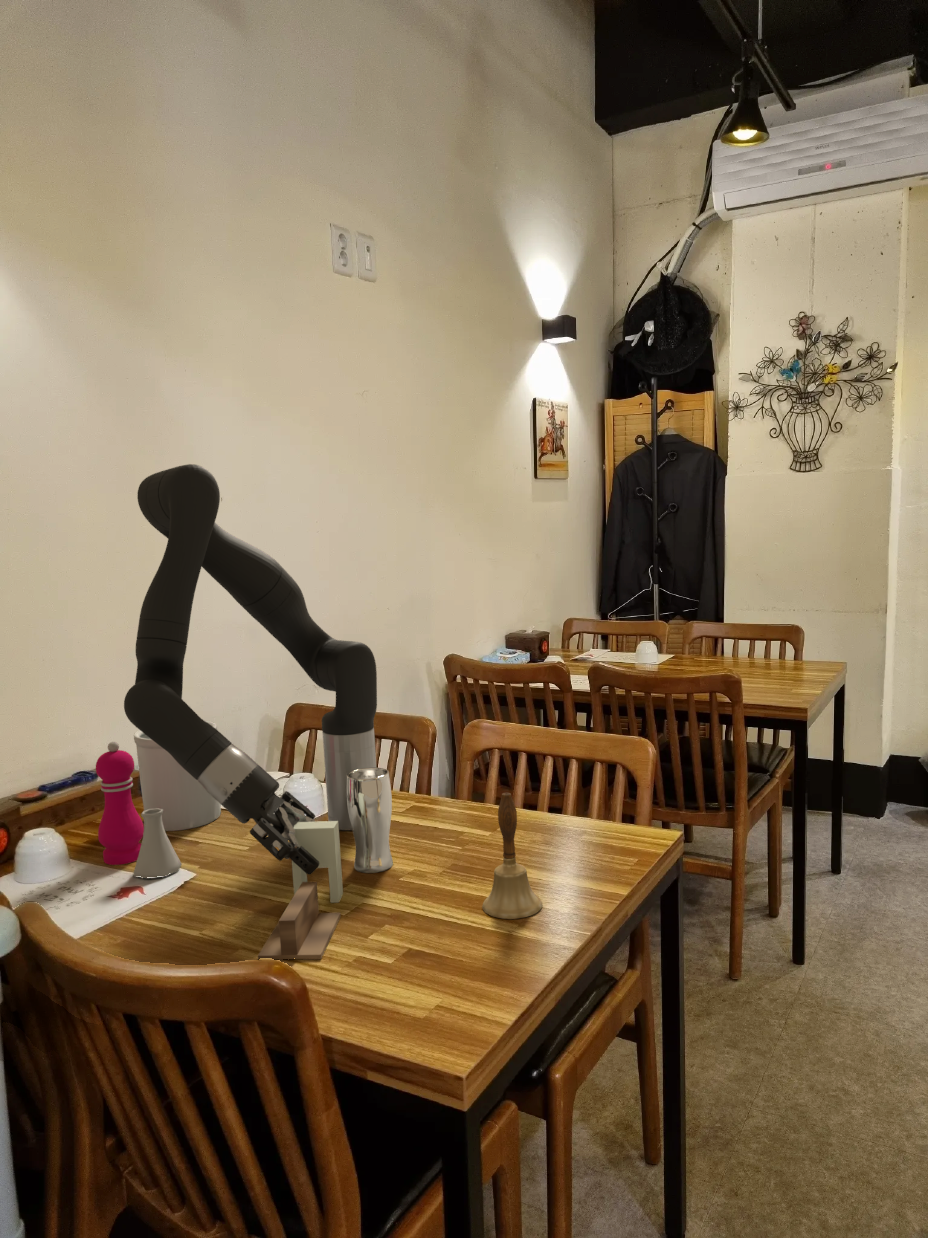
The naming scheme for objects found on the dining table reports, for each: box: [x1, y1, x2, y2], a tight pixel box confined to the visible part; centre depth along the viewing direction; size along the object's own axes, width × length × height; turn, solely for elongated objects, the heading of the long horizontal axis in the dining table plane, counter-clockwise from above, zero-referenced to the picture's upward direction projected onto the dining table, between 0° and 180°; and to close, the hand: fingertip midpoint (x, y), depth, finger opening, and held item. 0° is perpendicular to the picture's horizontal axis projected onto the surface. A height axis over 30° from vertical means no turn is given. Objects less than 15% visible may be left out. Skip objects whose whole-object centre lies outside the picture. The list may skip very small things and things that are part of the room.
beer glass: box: [347, 767, 394, 874], centre depth 140 cm, size 7×7×15 cm
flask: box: [132, 808, 182, 879], centre depth 143 cm, size 7×7×10 cm
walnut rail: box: [257, 881, 342, 961], centre depth 117 cm, size 12×8×5 cm, turn 176°
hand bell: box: [481, 792, 543, 920], centre depth 123 cm, size 8×8×16 cm
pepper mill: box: [95, 741, 144, 866], centre depth 149 cm, size 7×7×20 cm
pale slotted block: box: [291, 820, 344, 904], centre depth 129 cm, size 6×3×11 cm, turn 86°
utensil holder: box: [133, 719, 222, 832], centre depth 168 cm, size 15×15×18 cm
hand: (322, 858), depth 128 cm, fingers open, 8 cm apart
